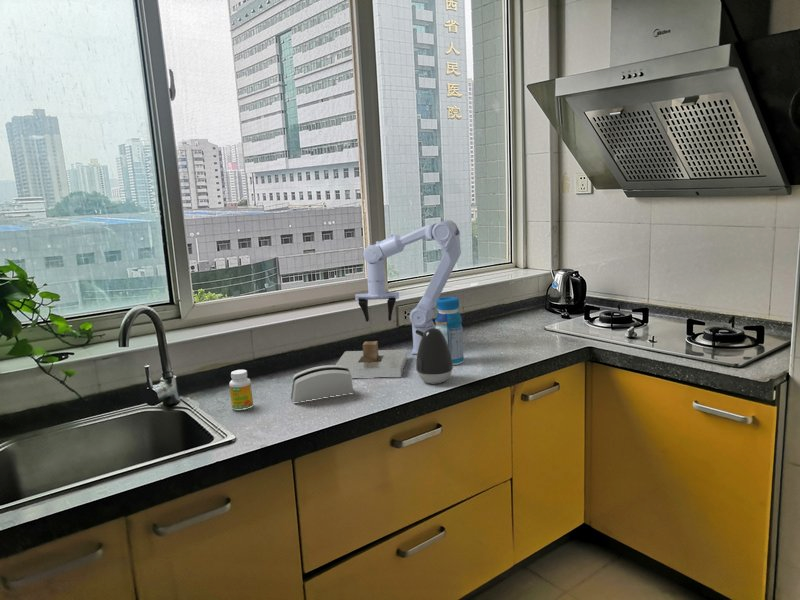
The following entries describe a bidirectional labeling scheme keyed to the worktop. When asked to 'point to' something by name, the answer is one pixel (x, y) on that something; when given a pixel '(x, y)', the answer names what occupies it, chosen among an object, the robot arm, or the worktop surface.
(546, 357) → the worktop surface
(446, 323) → the beverage bottle
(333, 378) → the napkin holder
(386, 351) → the grey flat square slab
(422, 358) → the pump dispenser
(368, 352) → the wedge peg
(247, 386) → the supplement bottle
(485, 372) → the worktop surface
